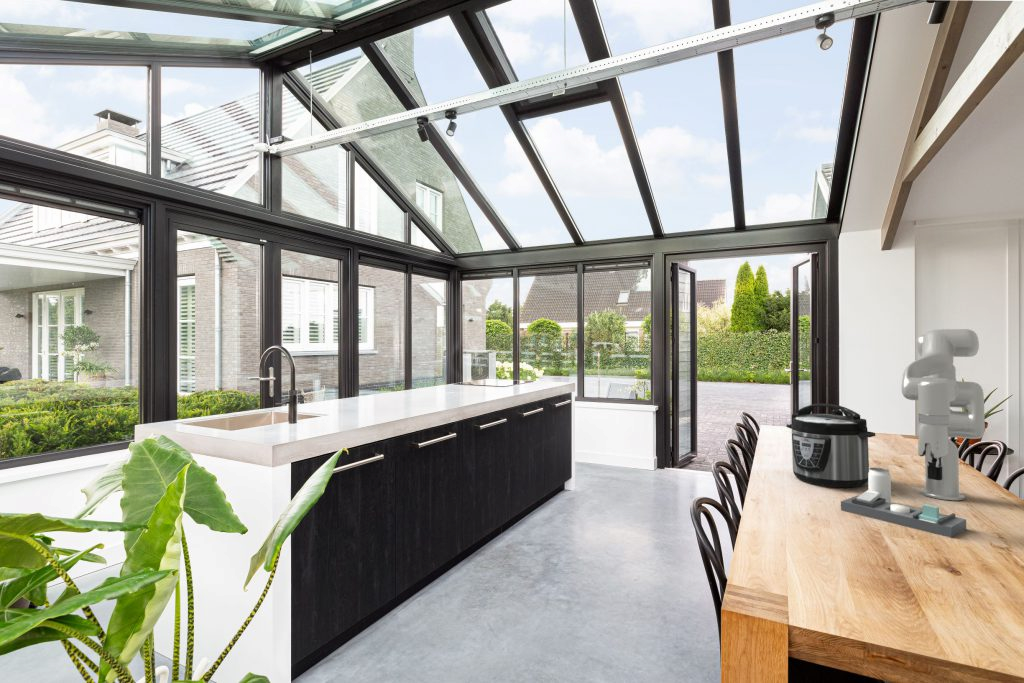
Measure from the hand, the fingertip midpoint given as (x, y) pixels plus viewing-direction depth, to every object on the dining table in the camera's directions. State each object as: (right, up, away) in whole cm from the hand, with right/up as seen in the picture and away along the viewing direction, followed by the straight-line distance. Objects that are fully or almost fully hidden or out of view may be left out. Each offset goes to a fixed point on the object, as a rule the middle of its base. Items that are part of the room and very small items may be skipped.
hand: (934, 479), depth 159 cm
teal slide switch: (-3, -12, -2) cm, 12 cm away
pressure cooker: (0, -15, +53) cm, 55 cm away
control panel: (-6, -15, +7) cm, 17 cm away
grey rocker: (-10, -10, +14) cm, 20 cm away
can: (-1, -15, +23) cm, 28 cm away
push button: (-6, -15, +7) cm, 17 cm away
